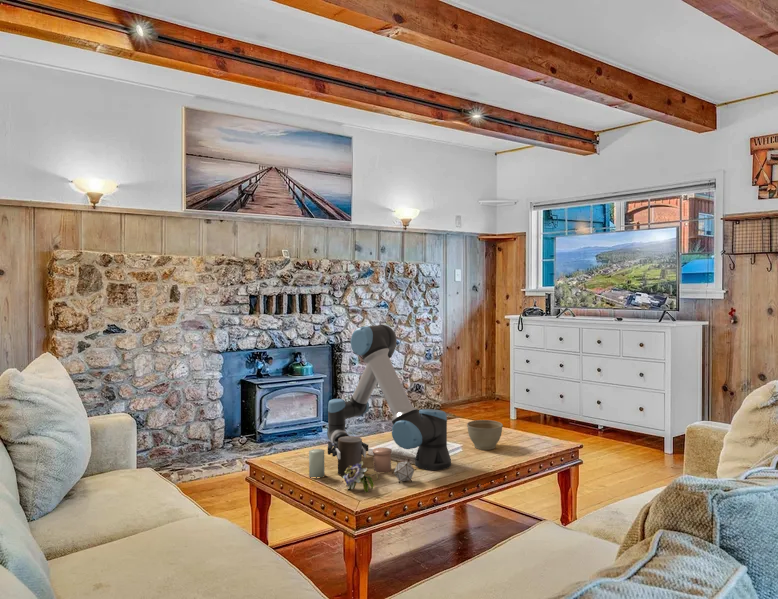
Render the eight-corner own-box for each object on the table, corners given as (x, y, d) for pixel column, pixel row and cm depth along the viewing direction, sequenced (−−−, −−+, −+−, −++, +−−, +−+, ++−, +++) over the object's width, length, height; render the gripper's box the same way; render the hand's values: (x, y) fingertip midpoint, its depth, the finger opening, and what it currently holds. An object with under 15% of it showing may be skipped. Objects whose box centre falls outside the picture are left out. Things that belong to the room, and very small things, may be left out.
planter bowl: (464, 443, 285) (464, 420, 284) (498, 442, 285) (498, 419, 285) (470, 452, 269) (470, 428, 268) (506, 452, 269) (506, 428, 269)
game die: (407, 492, 230) (413, 476, 224) (387, 483, 231) (392, 467, 225) (415, 474, 237) (420, 459, 231) (395, 466, 238) (400, 450, 232)
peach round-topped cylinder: (395, 468, 247) (395, 449, 247) (386, 473, 240) (385, 453, 240) (378, 465, 251) (378, 446, 250) (369, 471, 244) (369, 451, 244)
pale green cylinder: (327, 475, 239) (327, 450, 239) (318, 479, 234) (318, 454, 234) (315, 472, 242) (314, 448, 242) (306, 477, 237) (305, 452, 237)
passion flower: (349, 504, 222) (334, 475, 226) (372, 492, 229) (357, 464, 233) (362, 494, 214) (346, 464, 218) (385, 482, 221) (369, 453, 225)
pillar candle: (339, 477, 236) (339, 439, 236) (336, 469, 246) (336, 433, 245) (363, 476, 238) (364, 438, 238) (359, 468, 248) (360, 432, 247)
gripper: (366, 446, 262) (379, 461, 240) (315, 451, 256) (324, 466, 234) (366, 429, 262) (379, 443, 240) (315, 433, 256) (324, 447, 234)
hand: (352, 454), depth 237 cm, fingers closed on pillar candle, 9 cm apart
